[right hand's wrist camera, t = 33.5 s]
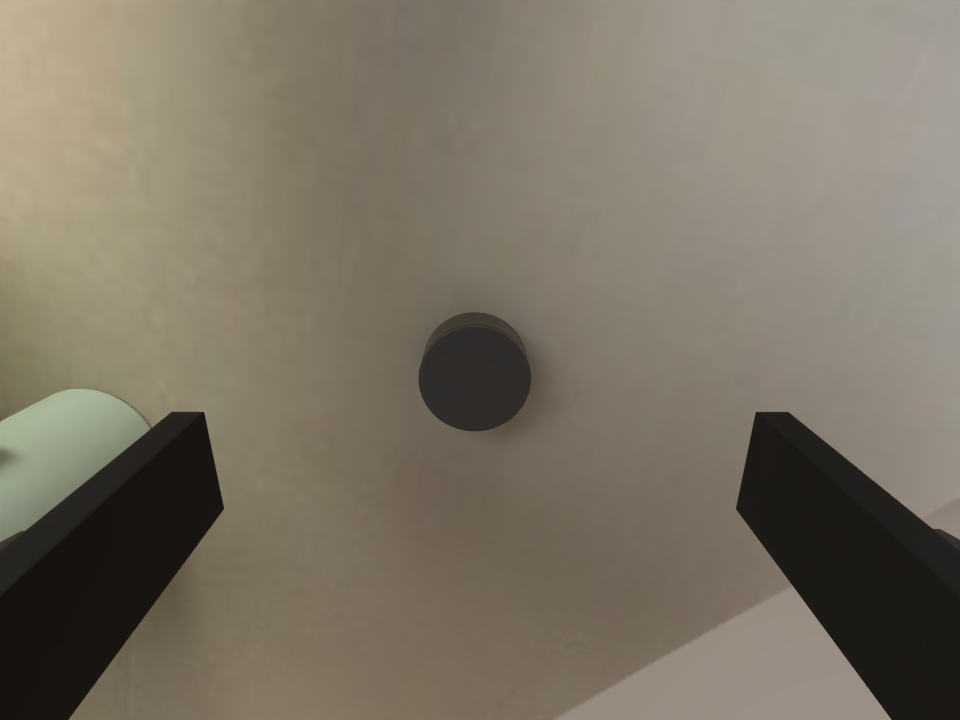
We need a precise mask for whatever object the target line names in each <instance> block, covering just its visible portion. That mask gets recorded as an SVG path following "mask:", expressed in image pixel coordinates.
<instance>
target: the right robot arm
mask: <svg viewBox="0 0 960 720" xmlns="http://www.w3.org/2000/svg"><path fill="white" fill-rule="evenodd" d="M223 510H224V506H223V501H222V497H221V492H220V487H219V482H218V477H217V472H216V468H215V463H214V458H213V453H212V448H211V443H210V438H209V434H208V429H207V424H206V419H205V414H204V412H171V413H170V414H169V415H167V416H166V417H165V418H164V419H163V420H161V421H160V422H159V423H158V424H156V425H155V426H154V427H153V428H151V429H150V430H149V431H148V432H146V433H145V434H144V435H143V436H142V437H140V438H139V439H138V440H137V441H135V442H134V443H133V444H132V445H130V446H129V447H128V448H127V449H125V450H124V451H123V452H122V453H121V454H119V455H118V456H117V457H116V458H114V459H113V460H112V461H111V462H109V463H108V464H107V465H106V466H105V467H103V468H102V469H101V470H100V471H98V472H97V473H96V474H95V475H93V476H92V477H91V478H90V479H88V480H87V481H86V482H85V483H84V484H82V485H81V486H80V487H79V488H77V489H76V490H75V491H74V492H72V493H71V494H70V495H69V496H67V497H66V498H65V499H64V500H63V501H61V502H60V503H59V504H58V505H56V506H55V507H54V508H53V509H51V510H50V511H49V512H48V513H46V514H45V515H44V516H43V517H42V518H40V519H39V520H38V521H37V522H35V523H34V524H33V525H32V526H30V527H29V528H28V529H27V530H26V531H20V532H18V533H16V534H14V535H12V536H11V537H9V538H7V539H5V540H3V541H1V542H0V720H68V719H69V718H70V717H71V715H72V714H73V713H74V711H75V710H76V709H77V707H78V706H79V704H80V703H81V702H82V700H83V699H84V698H85V696H86V695H87V694H88V692H89V691H90V690H91V688H92V687H93V686H94V684H95V683H96V681H97V680H98V679H99V677H100V676H101V675H102V673H103V672H104V671H105V669H106V668H107V667H108V665H109V664H110V663H111V661H112V660H113V658H114V657H115V656H116V654H117V653H118V652H119V650H120V649H121V648H122V646H123V645H124V644H125V642H126V641H127V640H128V638H129V637H130V635H131V634H132V633H133V631H134V630H135V629H136V627H137V626H138V625H139V623H140V622H141V621H142V619H143V618H144V616H145V615H146V614H147V612H148V611H149V610H150V608H151V607H152V606H153V604H154V603H155V602H156V600H157V599H158V598H159V596H160V595H161V593H162V592H163V591H164V589H165V588H166V587H167V585H168V584H169V583H170V581H171V580H172V579H173V577H174V576H175V575H176V573H177V572H178V570H179V569H180V568H181V566H182V565H183V564H184V562H185V561H186V560H187V558H188V557H189V556H190V554H191V553H192V551H193V550H194V549H195V547H196V546H197V545H198V543H199V542H200V541H201V539H202V538H203V537H204V535H205V534H206V533H207V531H208V530H209V528H210V527H211V526H212V524H213V523H214V522H215V520H216V519H217V518H218V516H219V515H220V514H221V512H222V511H223ZM736 510H737V511H738V512H739V514H740V515H741V516H742V518H743V519H744V520H745V522H746V523H747V524H748V526H749V527H750V528H751V530H752V531H753V533H754V534H755V535H756V537H757V538H758V539H759V541H760V542H761V543H762V545H763V546H764V547H765V549H766V550H767V551H768V553H769V554H770V556H771V557H772V558H773V560H774V561H775V562H776V564H777V565H778V566H779V568H780V569H781V570H782V572H783V573H784V575H785V576H786V577H787V579H788V580H789V581H790V583H791V584H792V585H793V587H794V588H795V589H796V591H797V592H798V593H799V595H800V596H801V598H802V599H803V600H804V602H805V603H806V604H807V606H808V607H809V608H810V610H811V611H812V612H813V614H814V615H815V616H816V618H817V619H818V620H819V622H820V623H821V625H822V626H823V627H824V629H825V630H826V631H827V633H828V634H829V635H830V637H831V638H832V639H833V641H834V642H835V644H836V645H837V646H838V647H839V649H840V650H841V652H842V653H843V654H844V656H845V657H846V658H847V660H848V661H849V663H850V664H851V665H852V667H853V668H854V669H855V671H856V672H857V673H858V675H859V676H860V677H861V679H862V680H863V681H864V683H865V684H866V686H867V687H868V688H869V690H870V691H871V692H872V694H873V695H874V696H875V698H876V699H877V700H878V702H879V703H880V704H881V706H882V707H883V709H884V710H885V711H886V713H887V714H888V715H889V717H890V718H891V719H892V720H960V540H959V539H957V538H956V537H954V536H952V535H950V534H948V533H946V532H944V531H942V530H941V529H932V528H931V527H930V526H928V525H927V524H926V523H925V522H923V521H922V520H921V519H920V518H918V517H917V516H916V515H915V514H914V513H912V512H911V511H910V510H909V509H907V508H906V507H905V506H904V505H902V504H901V503H900V502H899V501H897V500H896V499H895V498H894V497H893V496H891V495H890V494H889V493H888V492H886V491H885V490H884V489H883V488H881V487H880V486H879V485H878V484H876V483H875V482H874V481H873V480H872V479H870V478H869V477H868V476H867V475H865V474H864V473H863V472H862V471H860V470H859V469H858V468H857V467H855V466H854V465H853V464H852V463H851V462H849V461H848V460H847V459H846V458H844V457H843V456H842V455H841V454H839V453H838V452H837V451H836V450H835V449H833V448H832V447H831V446H830V445H828V444H827V443H826V442H825V441H823V440H822V439H821V438H820V437H818V436H817V435H816V434H815V433H814V432H812V431H811V430H810V429H809V428H807V427H806V426H805V425H804V424H802V423H801V422H800V421H799V420H797V419H796V418H795V417H794V416H793V415H791V414H790V413H789V412H756V414H755V419H754V424H753V429H752V434H751V438H750V443H749V448H748V453H747V458H746V463H745V468H744V472H743V477H742V482H741V487H740V492H739V497H738V501H737V506H736Z"/></svg>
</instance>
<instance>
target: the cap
mask: <svg viewBox="0 0 960 720" xmlns="http://www.w3.org/2000/svg"><path fill="white" fill-rule="evenodd" d="M530 384H531V375H530V368H529V364H528V361H527V357H526V353H525V350H524V347H523V344H522V342H521V340H520V338H519V336H518V335H517V333H516V332H515V331H514V329H513V328H512V327H511V326H510V325H508V324H507V323H506V322H504V321H503V320H501V319H499V318H497V317H495V316H492V315H489V314H484V313H465V314H461V315H457V316H455V317H452V318H450V319H449V320H447V321H445V322H444V323H443V324H441V325H440V326H439V327H438V328H437V329H436V330H435V331H434V333H433V334H432V335H431V337H430V339H429V340H428V343H427V345H426V348H425V352H424V355H423V359H422V362H421V366H420V370H419V387H420V392H421V395H422V398H423V400H424V402H425V404H426V405H427V407H428V408H429V410H430V411H431V412H432V413H433V414H434V415H435V416H436V417H437V418H438V419H440V420H441V421H443V422H444V423H446V424H448V425H450V426H452V427H455V428H457V429H461V430H467V431H482V430H488V429H492V428H495V427H497V426H500V425H502V424H504V423H505V422H507V421H508V420H510V419H511V418H512V417H513V416H514V415H516V414H517V412H518V411H519V410H520V409H521V407H522V406H523V404H524V403H525V401H526V399H527V396H528V393H529V390H530Z"/></svg>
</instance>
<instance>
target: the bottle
mask: <svg viewBox="0 0 960 720" xmlns="http://www.w3.org/2000/svg"><path fill="white" fill-rule="evenodd" d="M149 430H150V427H149V426H148V424H147V423H146V421H145V420H144V419H143V418H142V417H141V416H140V414H139V413H138V412H137V411H135V410H134V409H133V408H132V407H131V406H129V405H128V404H126V403H125V402H123V401H122V400H120V399H118V398H116V397H114V396H112V395H109V394H107V393H104V392H100V391H97V390H91V389H68V390H63V391H60V392H57V393H54V394H52V395H50V396H48V397H47V398H45V399H43V400H41V401H39V402H37V403H35V404H33V405H31V406H29V407H27V408H25V409H23V410H21V411H19V412H17V413H16V414H14V415H12V416H10V417H8V418H6V419H4V420H2V421H0V542H1V541H3V540H5V539H7V538H9V537H11V536H12V535H14V534H16V533H18V532H20V531H26V530H27V529H28V528H29V527H30V526H32V525H33V524H34V523H35V522H37V521H38V520H39V519H40V518H42V517H43V516H44V515H45V514H46V513H48V512H49V511H50V510H51V509H53V508H54V507H55V506H56V505H58V504H59V503H60V502H61V501H63V500H64V499H65V498H66V497H67V496H69V495H70V494H71V493H72V492H74V491H75V490H76V489H77V488H79V487H80V486H81V485H82V484H84V483H85V482H86V481H87V480H88V479H90V478H91V477H92V476H93V475H95V474H96V473H97V472H98V471H100V470H101V469H102V468H103V467H105V466H106V465H107V464H108V463H109V462H111V461H112V460H113V459H114V458H116V457H117V456H118V455H119V454H121V453H122V452H123V451H124V450H125V449H127V448H128V447H129V446H130V445H132V444H133V443H134V442H135V441H137V440H138V439H139V438H140V437H142V436H143V435H144V434H145V433H146V432H148V431H149Z"/></svg>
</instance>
